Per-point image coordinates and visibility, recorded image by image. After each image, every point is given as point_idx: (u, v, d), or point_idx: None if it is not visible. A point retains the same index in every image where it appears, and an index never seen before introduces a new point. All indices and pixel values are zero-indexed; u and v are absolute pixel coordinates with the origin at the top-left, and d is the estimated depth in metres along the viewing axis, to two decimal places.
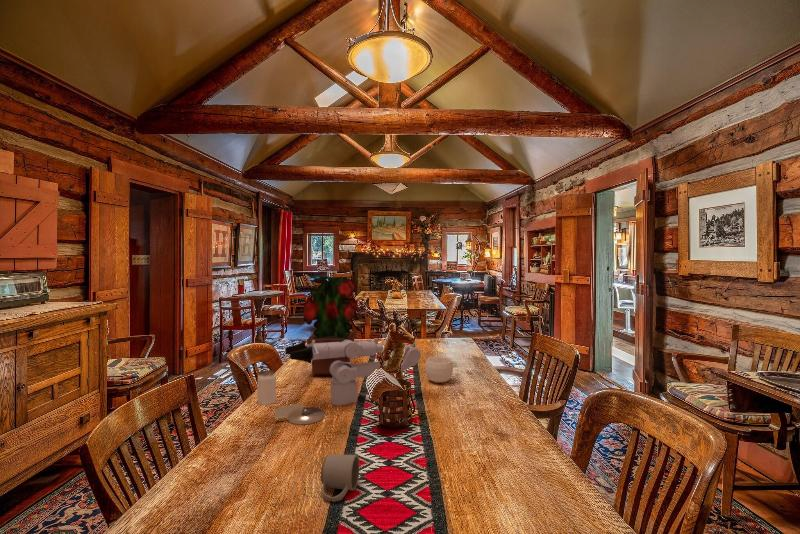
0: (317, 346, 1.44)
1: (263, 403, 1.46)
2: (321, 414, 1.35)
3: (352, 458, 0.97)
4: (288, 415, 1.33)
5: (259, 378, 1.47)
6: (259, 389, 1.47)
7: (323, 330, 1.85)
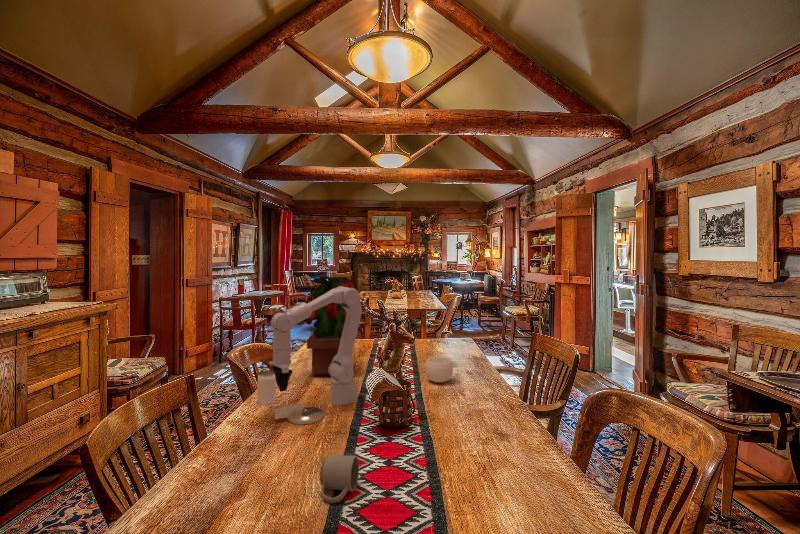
0: (276, 361, 1.35)
1: (263, 403, 1.46)
2: (321, 414, 1.35)
3: (351, 459, 0.97)
4: (288, 415, 1.33)
5: (259, 378, 1.47)
6: (259, 389, 1.47)
7: (323, 330, 1.85)
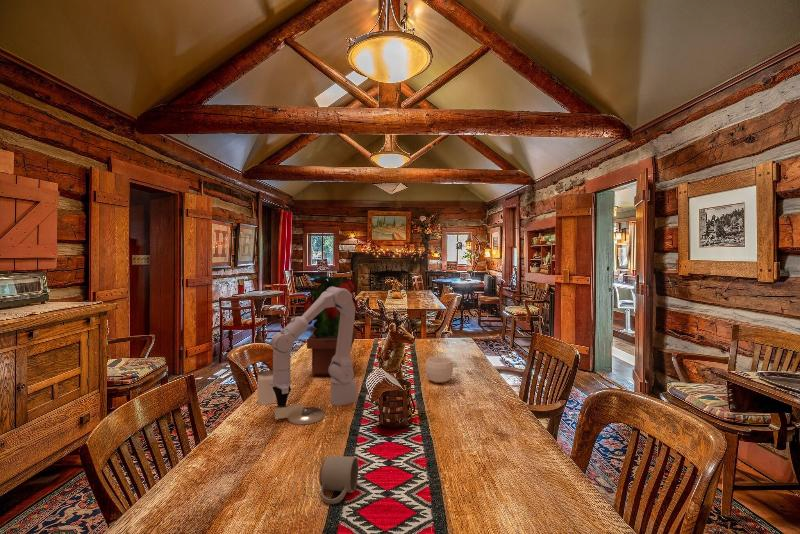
0: (276, 381, 1.35)
1: (263, 403, 1.46)
2: (321, 414, 1.35)
3: (351, 460, 0.97)
4: (288, 415, 1.33)
5: (259, 378, 1.47)
6: (259, 389, 1.47)
7: (323, 330, 1.85)
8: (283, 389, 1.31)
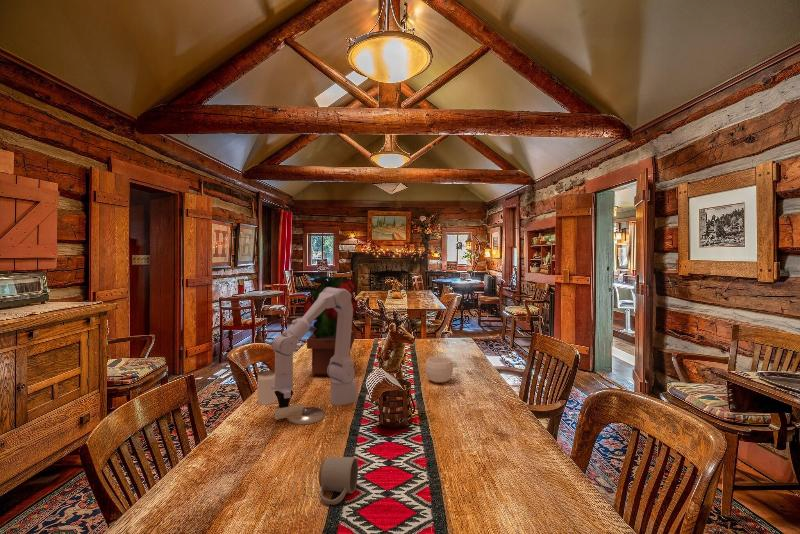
0: (278, 385, 1.31)
1: (263, 403, 1.46)
2: (321, 414, 1.36)
3: (351, 460, 0.96)
4: (288, 415, 1.33)
5: (259, 378, 1.47)
6: (259, 389, 1.47)
7: (323, 330, 1.85)
8: (285, 393, 1.27)
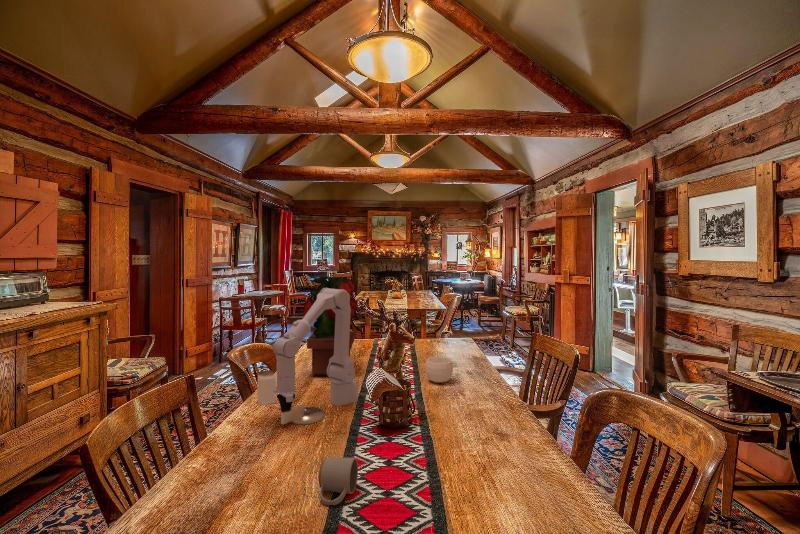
0: (280, 388, 1.28)
1: (263, 403, 1.46)
2: (321, 411, 1.38)
3: (350, 461, 0.96)
4: (293, 418, 1.31)
5: (259, 378, 1.47)
6: (259, 389, 1.47)
7: (323, 330, 1.85)
8: (287, 397, 1.24)
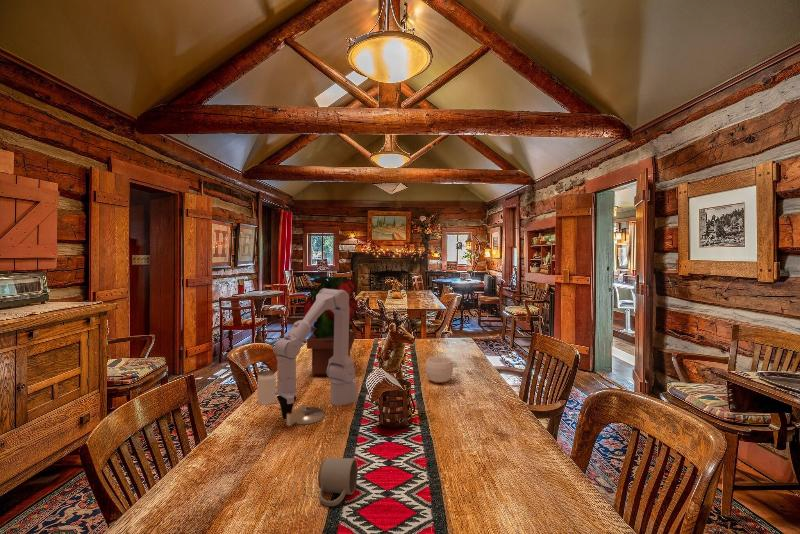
0: (280, 390, 1.26)
1: (263, 403, 1.46)
2: (319, 409, 1.39)
3: (350, 462, 0.96)
4: (297, 419, 1.30)
5: (259, 378, 1.47)
6: (259, 389, 1.47)
7: (323, 330, 1.85)
8: (288, 399, 1.22)
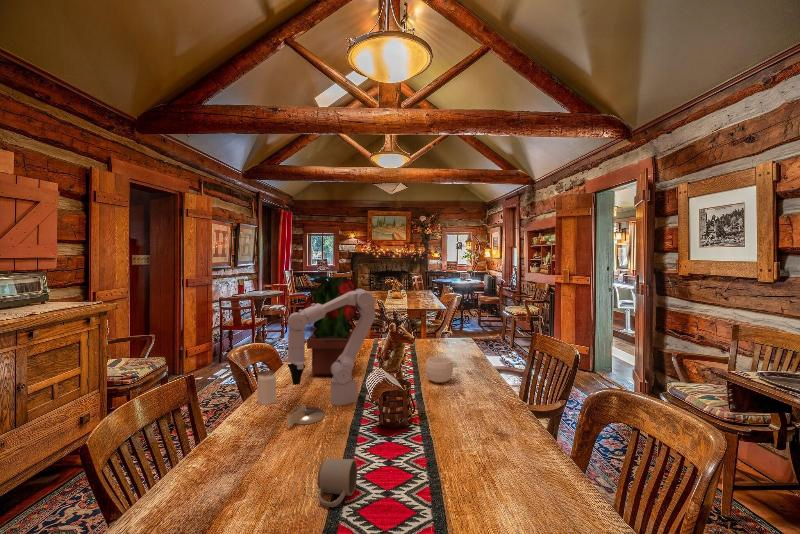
0: (291, 358, 1.42)
1: (263, 403, 1.46)
2: (319, 409, 1.39)
3: (349, 462, 0.95)
4: (297, 419, 1.30)
5: (259, 378, 1.47)
6: (259, 389, 1.47)
7: (323, 330, 1.85)
8: (298, 365, 1.38)
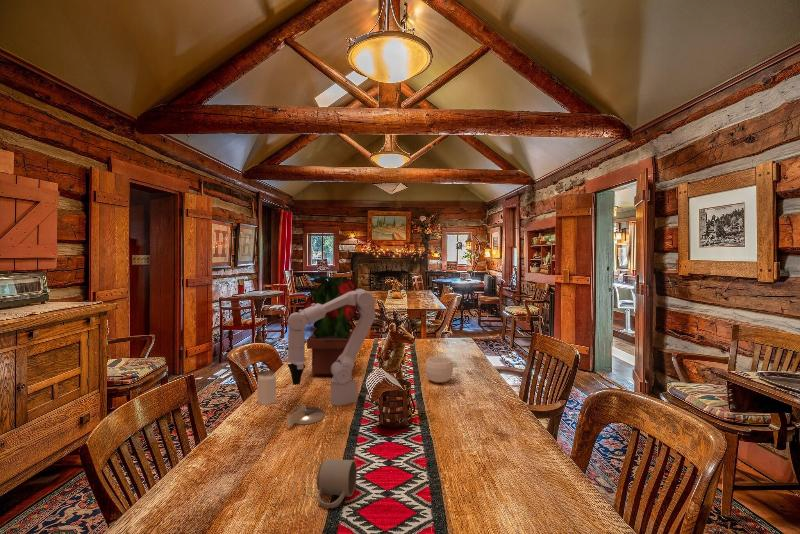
0: (291, 358, 1.42)
1: (263, 403, 1.46)
2: (319, 409, 1.39)
3: (349, 463, 0.95)
4: (297, 419, 1.30)
5: (259, 378, 1.47)
6: (259, 389, 1.47)
7: (323, 330, 1.85)
8: (298, 365, 1.38)
